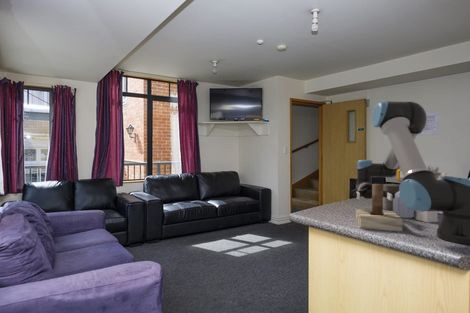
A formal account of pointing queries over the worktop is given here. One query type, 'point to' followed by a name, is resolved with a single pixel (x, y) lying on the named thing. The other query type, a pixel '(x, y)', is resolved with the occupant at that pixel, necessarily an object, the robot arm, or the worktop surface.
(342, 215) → the worktop surface
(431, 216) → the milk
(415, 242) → the worktop surface
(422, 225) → the worktop surface
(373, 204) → the peg
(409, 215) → the soap bottle
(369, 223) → the socket block
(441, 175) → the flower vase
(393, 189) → the pillar candle
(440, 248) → the worktop surface
